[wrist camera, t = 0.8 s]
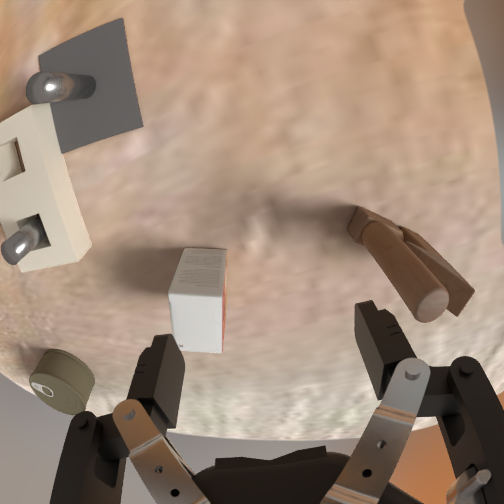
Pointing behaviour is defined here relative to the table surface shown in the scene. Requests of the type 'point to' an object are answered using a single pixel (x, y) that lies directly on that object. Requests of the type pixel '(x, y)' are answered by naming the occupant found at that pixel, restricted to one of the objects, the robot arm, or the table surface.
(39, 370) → the can
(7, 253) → the seated pin
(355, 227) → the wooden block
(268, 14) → the table surface
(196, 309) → the small box
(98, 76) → the mat
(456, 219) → the table surface
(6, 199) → the bore block
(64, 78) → the steel pin
